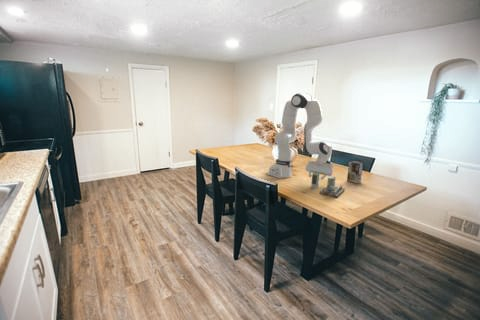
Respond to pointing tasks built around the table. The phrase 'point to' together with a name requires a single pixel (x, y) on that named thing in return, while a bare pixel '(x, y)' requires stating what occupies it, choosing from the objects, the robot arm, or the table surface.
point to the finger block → (315, 180)
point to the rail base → (332, 188)
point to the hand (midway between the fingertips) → (315, 177)
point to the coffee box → (355, 171)
